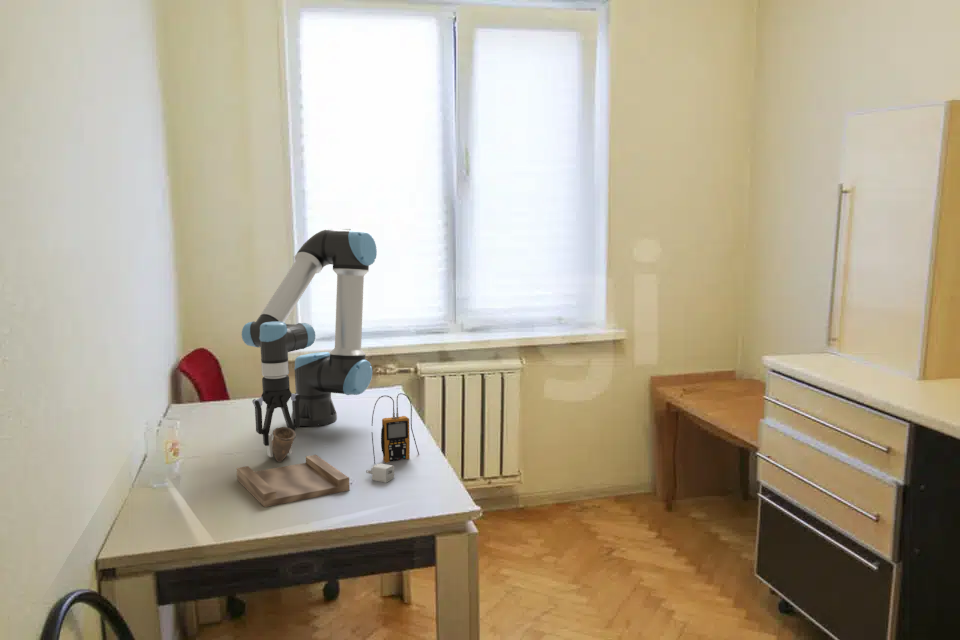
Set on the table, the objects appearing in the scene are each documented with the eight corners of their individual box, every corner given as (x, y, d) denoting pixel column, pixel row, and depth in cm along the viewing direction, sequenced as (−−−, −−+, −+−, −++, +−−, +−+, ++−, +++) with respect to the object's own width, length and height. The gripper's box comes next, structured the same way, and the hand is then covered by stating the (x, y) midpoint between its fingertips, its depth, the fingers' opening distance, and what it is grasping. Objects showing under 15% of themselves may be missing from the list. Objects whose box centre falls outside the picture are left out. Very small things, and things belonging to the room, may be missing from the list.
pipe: (286, 451, 232) (291, 418, 231) (292, 466, 216) (297, 432, 216) (265, 449, 230) (269, 417, 229) (269, 465, 214) (274, 430, 213)
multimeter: (380, 474, 208) (378, 402, 206) (370, 464, 217) (368, 395, 215) (431, 467, 214) (430, 397, 211) (419, 458, 223) (418, 390, 221)
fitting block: (316, 466, 216) (315, 454, 215) (349, 490, 196) (349, 477, 195) (237, 480, 204) (236, 468, 204) (264, 507, 184) (263, 493, 183)
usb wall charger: (385, 483, 201) (385, 469, 200) (364, 479, 204) (364, 465, 204) (394, 479, 204) (394, 464, 204) (373, 475, 208) (372, 461, 207)
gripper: (301, 369, 227) (304, 445, 230) (240, 377, 218) (245, 456, 221) (310, 374, 221) (313, 452, 224) (247, 382, 211) (252, 463, 215)
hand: (279, 454), depth 222 cm, fingers open, 5 cm apart
